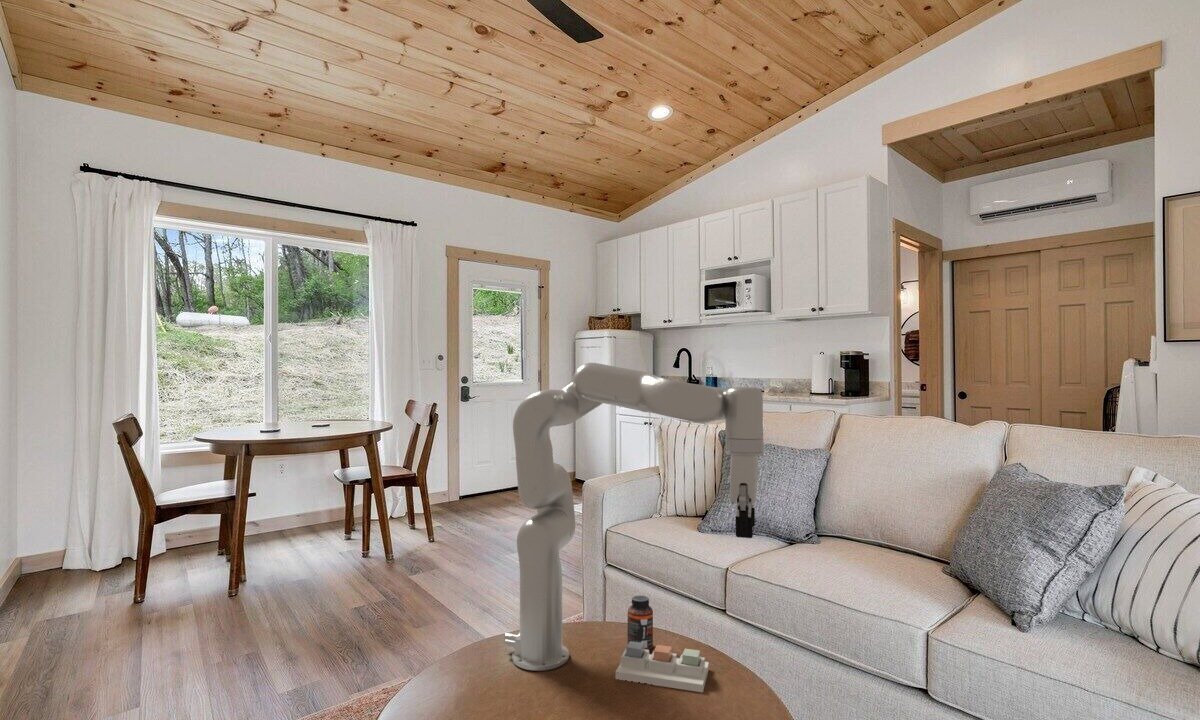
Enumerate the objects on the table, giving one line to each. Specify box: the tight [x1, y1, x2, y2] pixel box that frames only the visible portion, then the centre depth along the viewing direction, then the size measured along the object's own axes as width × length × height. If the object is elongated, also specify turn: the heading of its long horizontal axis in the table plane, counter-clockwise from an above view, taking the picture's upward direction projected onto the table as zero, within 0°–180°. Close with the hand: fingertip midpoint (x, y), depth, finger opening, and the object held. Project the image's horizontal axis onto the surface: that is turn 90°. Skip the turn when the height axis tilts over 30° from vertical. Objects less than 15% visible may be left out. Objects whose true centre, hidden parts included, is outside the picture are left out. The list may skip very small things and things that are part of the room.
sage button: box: [682, 648, 701, 666], centre depth 120 cm, size 3×3×2 cm
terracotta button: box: [653, 644, 673, 662], centre depth 122 cm, size 3×3×2 cm
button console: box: [614, 648, 710, 693], centre depth 122 cm, size 18×10×4 cm, turn 73°
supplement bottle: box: [627, 595, 654, 651], centre depth 134 cm, size 6×6×11 cm
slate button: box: [625, 641, 644, 658], centre depth 123 cm, size 3×3×2 cm
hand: (745, 531), depth 117 cm, fingers open, 9 cm apart
